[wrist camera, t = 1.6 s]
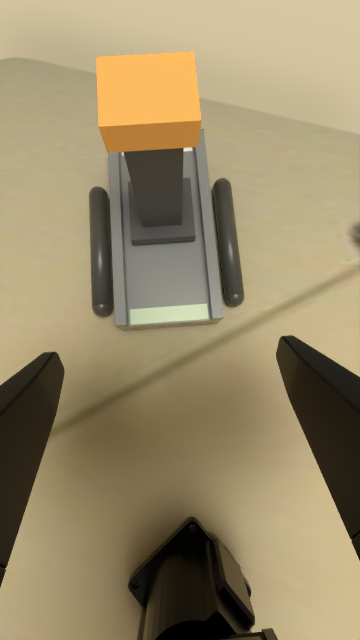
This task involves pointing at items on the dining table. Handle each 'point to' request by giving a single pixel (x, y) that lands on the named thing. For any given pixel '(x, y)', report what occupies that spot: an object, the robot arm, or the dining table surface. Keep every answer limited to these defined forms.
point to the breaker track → (164, 255)
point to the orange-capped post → (152, 137)
